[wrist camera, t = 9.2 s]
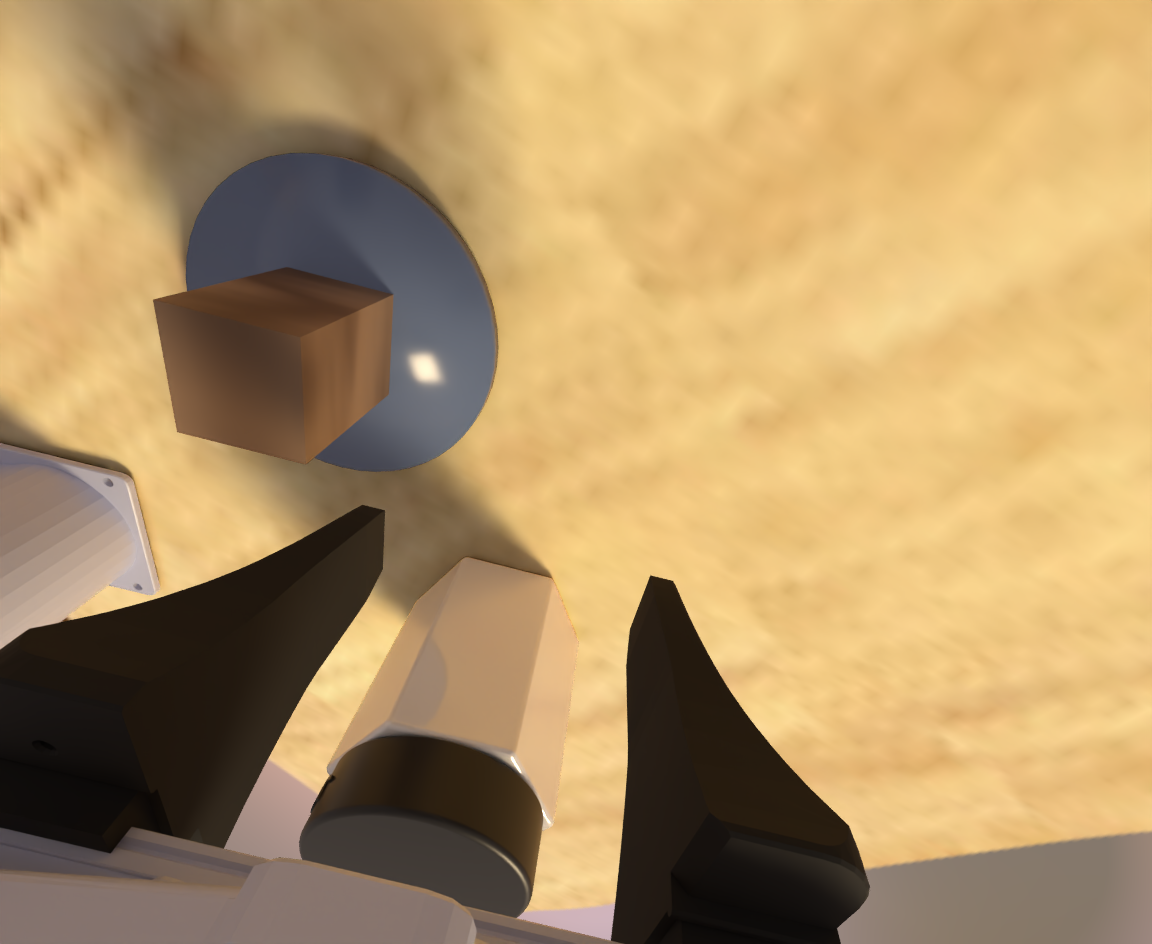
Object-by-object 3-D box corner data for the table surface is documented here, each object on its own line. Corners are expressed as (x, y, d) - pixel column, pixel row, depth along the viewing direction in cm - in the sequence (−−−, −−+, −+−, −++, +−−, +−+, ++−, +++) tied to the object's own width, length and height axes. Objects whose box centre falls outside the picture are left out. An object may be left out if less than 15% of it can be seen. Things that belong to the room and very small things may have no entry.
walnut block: (292, 369, 21) (177, 432, 16) (286, 266, 19) (152, 299, 14) (388, 394, 21) (306, 464, 16) (393, 294, 19) (300, 337, 14)
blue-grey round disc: (224, 425, 24) (209, 434, 23) (182, 115, 18) (158, 112, 17) (480, 488, 24) (473, 499, 23) (521, 201, 18) (515, 202, 17)
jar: (394, 567, 27) (239, 810, 17) (542, 540, 25) (470, 795, 15) (462, 684, 31) (370, 939, 21) (593, 668, 29) (566, 940, 19)
